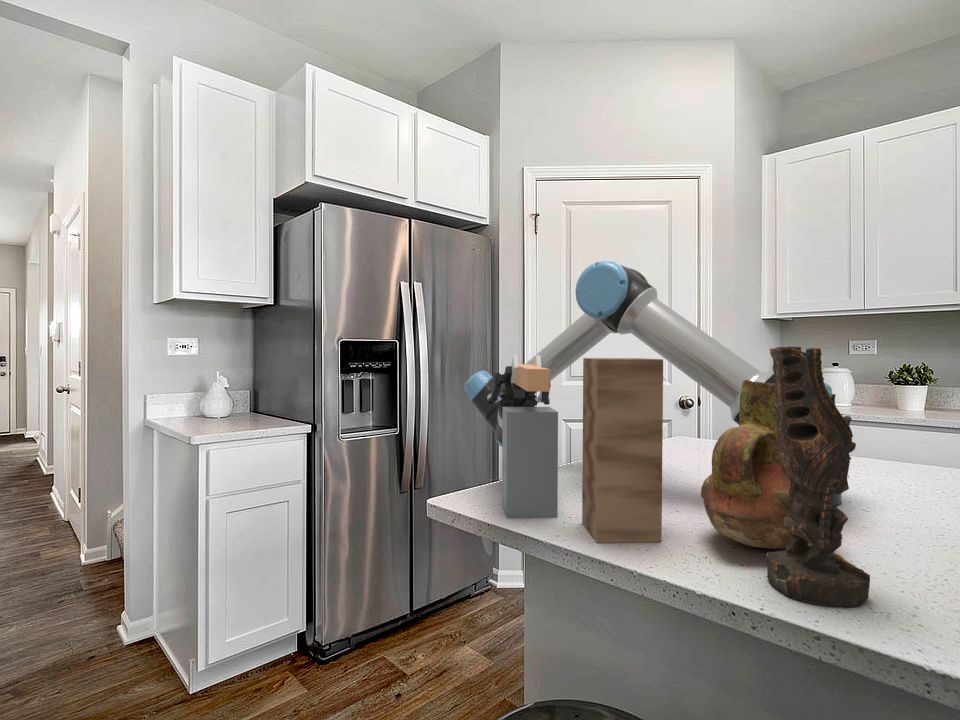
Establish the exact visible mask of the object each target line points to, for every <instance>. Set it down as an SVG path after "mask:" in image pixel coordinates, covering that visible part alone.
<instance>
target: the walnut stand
mask: <svg viewBox="0 0 960 720" xmlns="http://www.w3.org/2000/svg"><path fill="white" fill-rule="evenodd" d="M582 361H583V362H582V364H583V365H582V370H583V371H582V477H581V478H582V481H581V482H582V484H581V485H582V487H581V488H582V489H581V490H582V491H581V492H582V493H581V494H582V496H581V497H582V498H581V499H582V505H581V507H582V508H581V511H582V513H581V515H582V516H581V519H582V520H581V522H582V525H583V526H584V527H585V529H586V530H587V531H588V533H589V534H590V536H591V537H592V539H593V540H594V541H595V543H596V544H617V543H619V544H620V543H621V544H622V543H623V544H626V543H627V544H628V542H629V543H630V544H631V543H633V544H634V543H662V536H663V535H662V534H663V533H662V532H663V531H662V528H663V527H662V525H663V524H662V521H663V518H662V517H663V426H664V424H663V423H664V422H663V419H664V418H663V417H664V415H663V414H664V411H663V410H664V407H663V406H664V358H663V359H661V358H643V357H638V358H637V357H628V358H627V357H625V358H623V357H620V358H619V357H618V358H617V357H611V358H610V357H609V358H608V357H583V360H582Z"/></svg>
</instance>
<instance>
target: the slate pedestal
mask: <svg viewBox="0 0 960 720" xmlns="http://www.w3.org/2000/svg"><path fill="white" fill-rule="evenodd" d="M501 447H502V450H501V451H502V453H501V455H502V457H501V460H502V461H501V463H502V464H501V465H502V466H501V468H502V469H501V470H502V471H501V475H502V476H501V481H502V482H501V488H502V489H501V504H502V509H503V511H504V514H505V517H506V519H507V518H510V519H512V518H513V519H515V518H525V519H526V518H528V519H529V517H531V518H558V512H559V511H558V509H559V508H558V505H559V504H558V501H559V500H558V499H559V498H558V491H559V489H558V488H559V487H558V485H559V484H558V483H559V481H558V480H559V479H558V477H559V476H558V474H559V473H558V472H559V465H558V463H559V411H558V410H556V409H554V408H553V407H550V406H535V407H502V446H501Z"/></svg>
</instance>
